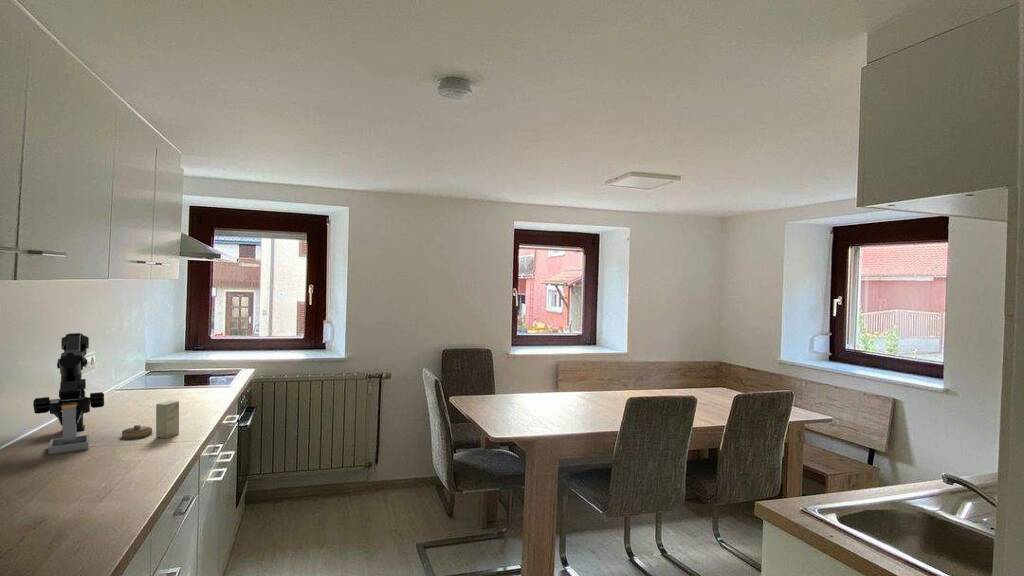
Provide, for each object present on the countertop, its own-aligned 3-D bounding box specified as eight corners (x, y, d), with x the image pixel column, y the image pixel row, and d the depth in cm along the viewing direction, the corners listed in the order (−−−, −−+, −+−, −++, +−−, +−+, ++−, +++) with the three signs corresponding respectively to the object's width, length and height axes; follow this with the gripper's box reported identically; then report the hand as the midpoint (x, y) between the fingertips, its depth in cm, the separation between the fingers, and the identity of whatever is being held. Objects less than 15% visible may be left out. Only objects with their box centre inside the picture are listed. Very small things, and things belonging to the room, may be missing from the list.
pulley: (121, 434, 202) (121, 424, 202) (151, 430, 208) (151, 421, 208) (122, 440, 195) (122, 430, 195) (152, 436, 200) (152, 426, 200)
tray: (51, 446, 187) (51, 439, 187) (89, 441, 193) (89, 434, 193) (48, 455, 179) (48, 447, 179) (88, 449, 185) (88, 442, 185)
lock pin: (62, 442, 186) (62, 403, 186) (77, 440, 188) (76, 401, 188) (61, 445, 183) (61, 405, 183) (76, 443, 185) (76, 404, 185)
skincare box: (165, 438, 198) (165, 404, 198) (155, 437, 199) (155, 404, 199) (179, 433, 204) (179, 400, 204) (169, 432, 205) (169, 400, 205)
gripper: (33, 374, 183) (29, 414, 174) (103, 369, 194) (103, 407, 185) (36, 393, 189) (33, 433, 181) (104, 387, 200) (104, 424, 192)
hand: (69, 424), depth 184 cm, fingers closed on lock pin, 3 cm apart
